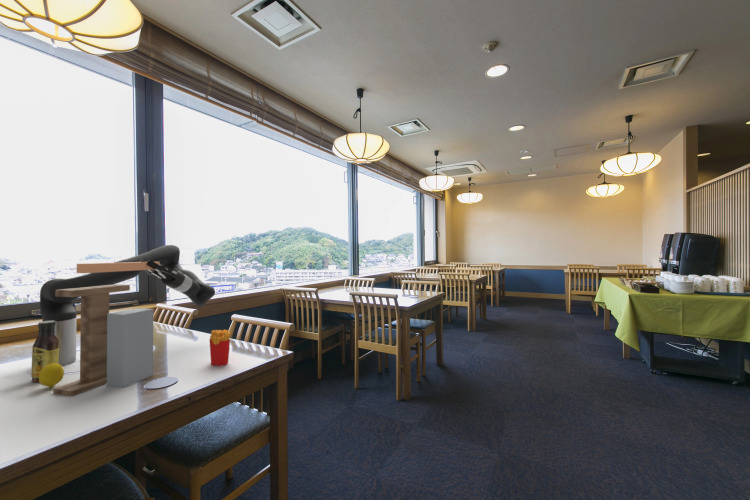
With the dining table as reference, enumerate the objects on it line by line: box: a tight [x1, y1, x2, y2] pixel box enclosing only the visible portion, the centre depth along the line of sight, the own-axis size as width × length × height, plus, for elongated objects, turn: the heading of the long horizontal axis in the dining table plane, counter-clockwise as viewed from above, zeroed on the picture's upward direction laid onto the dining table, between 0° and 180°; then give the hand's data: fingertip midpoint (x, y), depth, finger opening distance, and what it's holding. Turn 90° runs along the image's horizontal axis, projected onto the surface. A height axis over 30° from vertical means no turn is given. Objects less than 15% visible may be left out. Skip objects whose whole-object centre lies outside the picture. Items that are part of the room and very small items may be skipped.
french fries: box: [209, 329, 231, 367], centre depth 117 cm, size 9×4×13 cm, turn 68°
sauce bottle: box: [30, 320, 59, 383], centre depth 102 cm, size 7×6×20 cm
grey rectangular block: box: [106, 307, 154, 388], centre depth 102 cm, size 7×10×24 cm
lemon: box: [38, 362, 65, 388], centre depth 96 cm, size 6×6×8 cm
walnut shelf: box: [52, 283, 131, 397], centre depth 99 cm, size 8×17×32 cm, turn 167°
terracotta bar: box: [76, 261, 160, 274], centre depth 108 cm, size 3×26×3 cm, turn 167°
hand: (144, 262), depth 115 cm, fingers closed on terracotta bar, 3 cm apart
